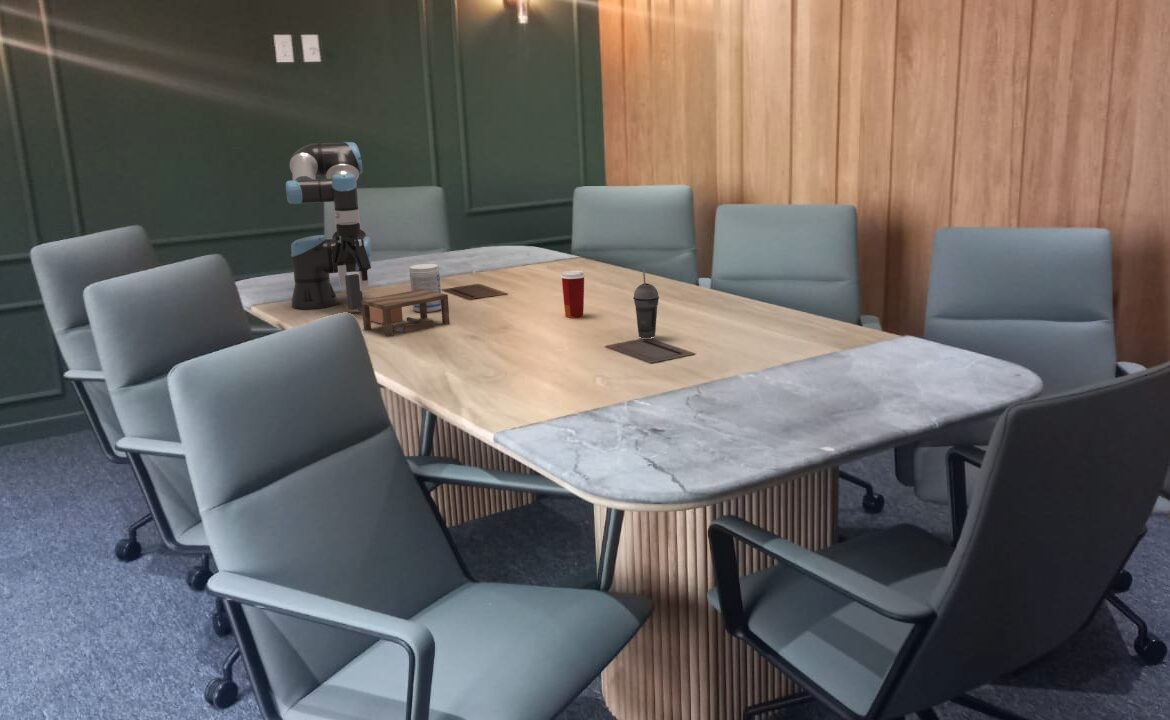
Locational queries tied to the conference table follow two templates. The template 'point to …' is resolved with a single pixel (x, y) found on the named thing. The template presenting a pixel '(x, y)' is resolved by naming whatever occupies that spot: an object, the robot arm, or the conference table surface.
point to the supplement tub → (426, 283)
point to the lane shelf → (402, 301)
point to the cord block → (356, 296)
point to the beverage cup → (646, 308)
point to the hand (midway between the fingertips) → (353, 287)
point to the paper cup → (573, 293)
